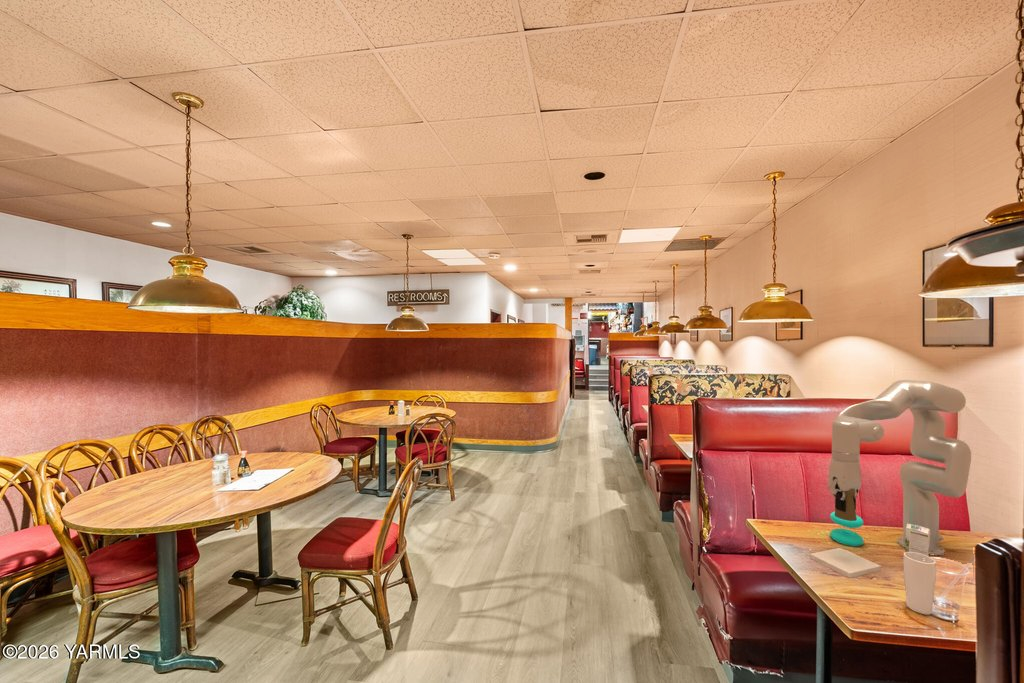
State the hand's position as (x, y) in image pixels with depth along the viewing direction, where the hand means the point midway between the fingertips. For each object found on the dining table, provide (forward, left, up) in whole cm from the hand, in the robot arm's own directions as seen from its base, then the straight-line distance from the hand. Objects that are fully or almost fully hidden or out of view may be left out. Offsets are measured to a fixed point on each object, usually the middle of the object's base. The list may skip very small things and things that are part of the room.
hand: (845, 508), depth 144 cm
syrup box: (-18, +10, -19) cm, 29 cm away
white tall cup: (+6, +24, -19) cm, 31 cm away
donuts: (-18, -12, -19) cm, 29 cm away
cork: (0, 0, -3) cm, 3 cm away
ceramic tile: (0, 0, -19) cm, 19 cm away
